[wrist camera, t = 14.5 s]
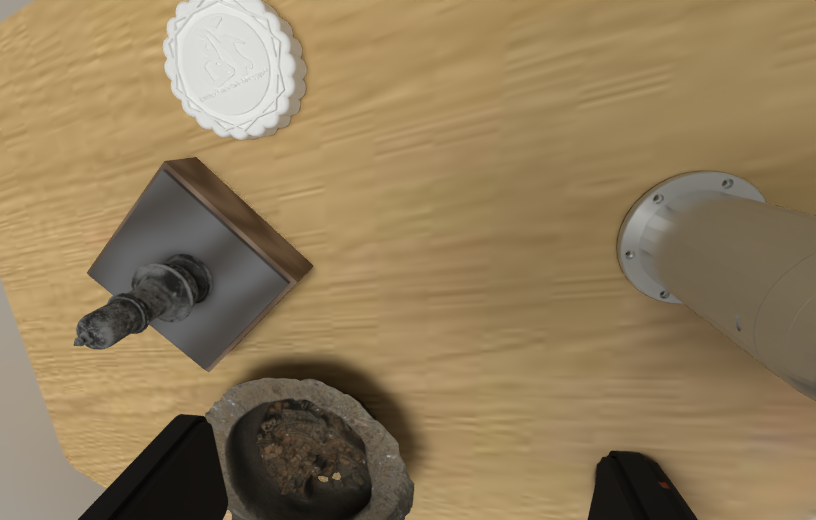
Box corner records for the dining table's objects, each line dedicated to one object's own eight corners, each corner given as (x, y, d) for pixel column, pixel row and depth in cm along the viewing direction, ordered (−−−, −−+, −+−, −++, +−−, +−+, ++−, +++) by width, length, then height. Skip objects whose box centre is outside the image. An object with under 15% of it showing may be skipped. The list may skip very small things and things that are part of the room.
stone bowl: (375, 527, 53) (354, 604, 45) (218, 447, 54) (168, 507, 46) (452, 403, 44) (444, 469, 36) (262, 310, 45) (210, 352, 37)
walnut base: (313, 266, 41) (295, 284, 36) (231, 349, 46) (206, 375, 41) (195, 157, 38) (160, 161, 34) (122, 258, 43) (82, 274, 39)
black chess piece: (158, 296, 39) (37, 366, 27) (160, 243, 36) (30, 296, 25) (213, 313, 38) (114, 390, 27) (218, 261, 36) (114, 321, 25)
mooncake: (274, -28, 32) (253, -46, 29) (328, 113, 36) (315, 112, 33) (161, 28, 35) (130, 18, 32) (222, 155, 38) (200, 158, 35)
